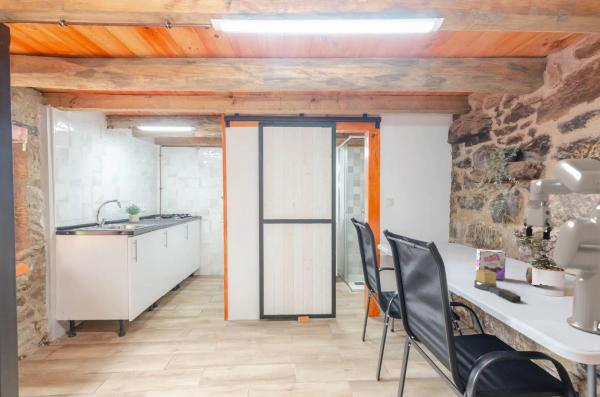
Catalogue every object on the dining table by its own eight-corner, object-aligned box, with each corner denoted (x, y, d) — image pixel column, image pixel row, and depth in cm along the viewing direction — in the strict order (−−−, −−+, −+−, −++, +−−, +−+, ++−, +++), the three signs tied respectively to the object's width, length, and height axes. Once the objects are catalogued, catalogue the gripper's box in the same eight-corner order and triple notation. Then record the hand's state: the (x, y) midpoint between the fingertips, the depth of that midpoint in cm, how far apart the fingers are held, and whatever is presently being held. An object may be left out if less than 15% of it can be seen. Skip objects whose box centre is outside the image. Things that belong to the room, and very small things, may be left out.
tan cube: (495, 284, 156) (496, 272, 155) (484, 284, 155) (484, 272, 155) (486, 280, 162) (487, 269, 162) (475, 280, 161) (476, 269, 161)
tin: (525, 279, 175) (525, 265, 174) (531, 280, 174) (532, 266, 173) (535, 287, 160) (536, 272, 160) (542, 288, 159) (543, 273, 159)
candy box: (478, 278, 176) (479, 250, 175) (475, 275, 182) (476, 248, 181) (504, 280, 173) (506, 252, 172) (500, 277, 178) (502, 250, 178)
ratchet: (525, 302, 139) (526, 287, 139) (506, 302, 138) (506, 287, 138) (487, 284, 164) (487, 272, 164) (470, 284, 163) (470, 272, 163)
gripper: (562, 205, 142) (560, 241, 142) (530, 203, 159) (529, 235, 160) (548, 205, 141) (546, 241, 142) (517, 203, 158) (516, 235, 159)
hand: (537, 238), depth 151 cm, fingers open, 9 cm apart
